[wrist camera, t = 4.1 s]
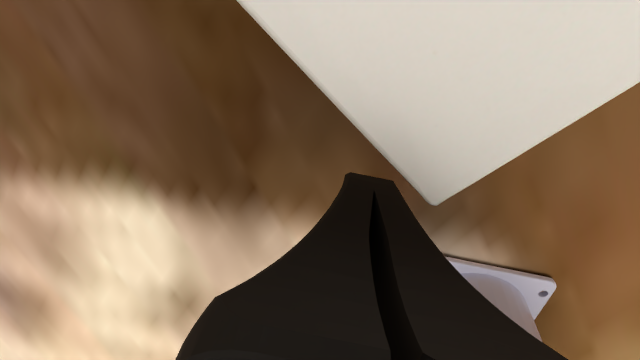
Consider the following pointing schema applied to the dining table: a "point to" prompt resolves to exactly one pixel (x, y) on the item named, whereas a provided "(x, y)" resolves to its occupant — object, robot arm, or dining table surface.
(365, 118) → the supplement box
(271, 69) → the dining table surface
